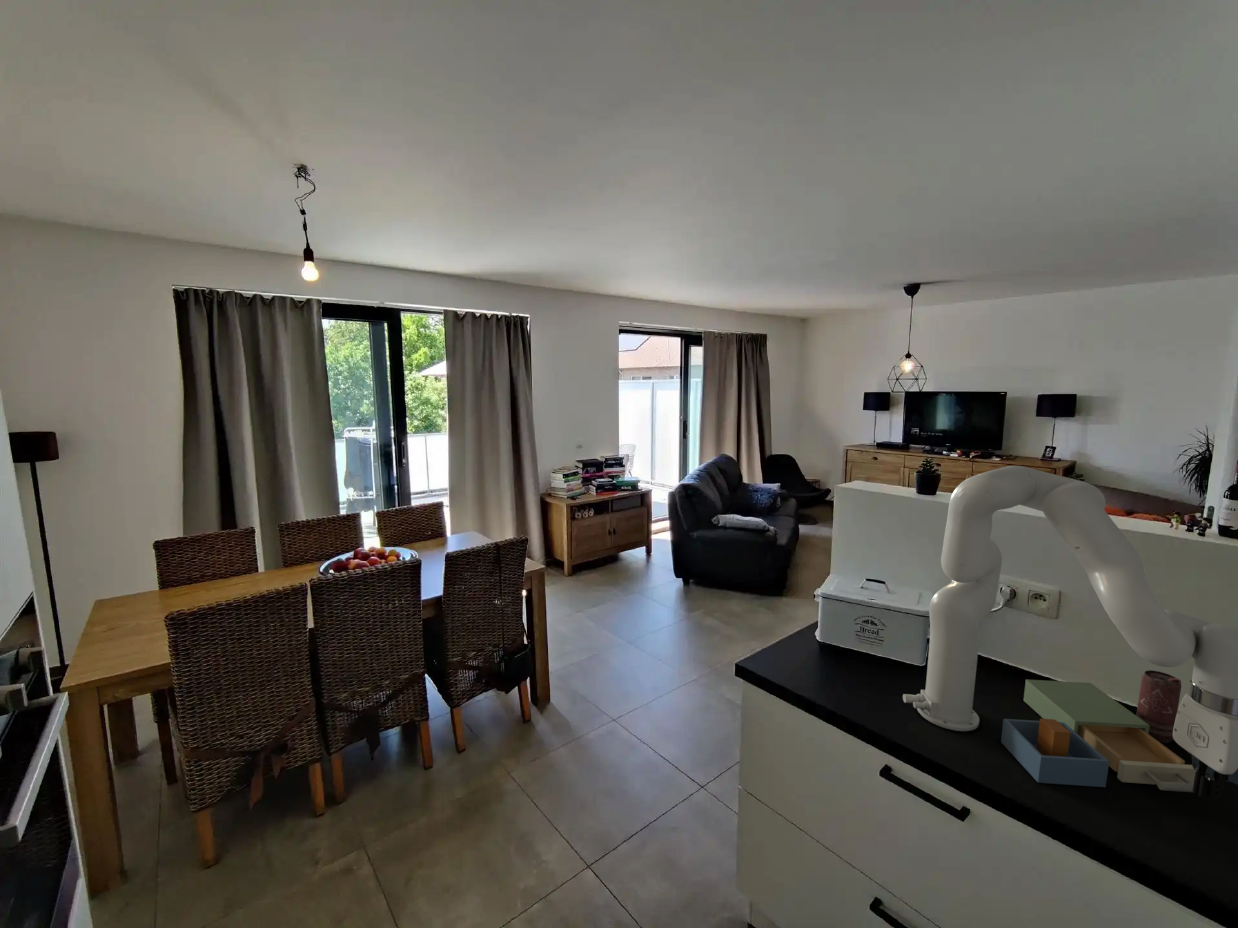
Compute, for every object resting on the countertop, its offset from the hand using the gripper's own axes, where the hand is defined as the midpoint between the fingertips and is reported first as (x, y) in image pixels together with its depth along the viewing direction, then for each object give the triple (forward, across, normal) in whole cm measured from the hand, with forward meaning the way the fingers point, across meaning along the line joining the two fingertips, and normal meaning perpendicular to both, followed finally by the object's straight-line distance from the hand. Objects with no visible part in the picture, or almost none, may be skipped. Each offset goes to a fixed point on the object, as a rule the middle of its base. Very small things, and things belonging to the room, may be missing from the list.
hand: (1206, 795), depth 94 cm
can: (+6, -26, +13) cm, 29 cm away
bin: (+5, -14, -16) cm, 22 cm away
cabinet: (+5, -29, 0) cm, 29 cm away
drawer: (+5, -14, 0) cm, 15 cm away
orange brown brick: (+5, -14, -16) cm, 22 cm away
